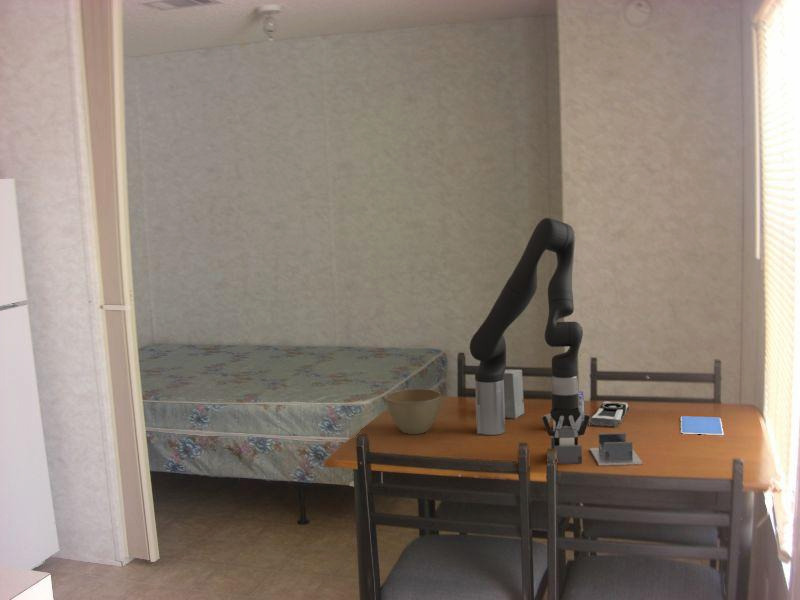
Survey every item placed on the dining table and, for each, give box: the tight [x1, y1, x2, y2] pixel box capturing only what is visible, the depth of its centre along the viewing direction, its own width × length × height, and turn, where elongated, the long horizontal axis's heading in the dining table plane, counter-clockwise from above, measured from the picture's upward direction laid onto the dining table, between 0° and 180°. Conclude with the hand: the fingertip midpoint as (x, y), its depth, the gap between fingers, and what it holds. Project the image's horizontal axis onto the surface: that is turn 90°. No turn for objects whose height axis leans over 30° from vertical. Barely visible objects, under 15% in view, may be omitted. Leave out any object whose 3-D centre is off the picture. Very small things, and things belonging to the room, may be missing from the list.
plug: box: [559, 426, 574, 446], centre depth 233 cm, size 4×6×9 cm, turn 177°
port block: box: [589, 432, 643, 466], centre depth 232 cm, size 12×14×6 cm
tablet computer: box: [680, 415, 725, 436], centre depth 258 cm, size 19×13×1 cm, turn 161°
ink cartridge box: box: [552, 390, 585, 431], centre depth 261 cm, size 10×6×14 cm, turn 78°
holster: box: [550, 436, 583, 465], centre depth 233 cm, size 7×9×5 cm
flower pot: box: [385, 388, 442, 435], centre depth 267 cm, size 18×18×12 cm
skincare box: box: [504, 368, 525, 420], centre depth 281 cm, size 8×7×16 cm
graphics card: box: [588, 401, 629, 428], centre depth 273 cm, size 10×3×25 cm
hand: (566, 448), depth 233 cm, fingers closed on plug, 4 cm apart
